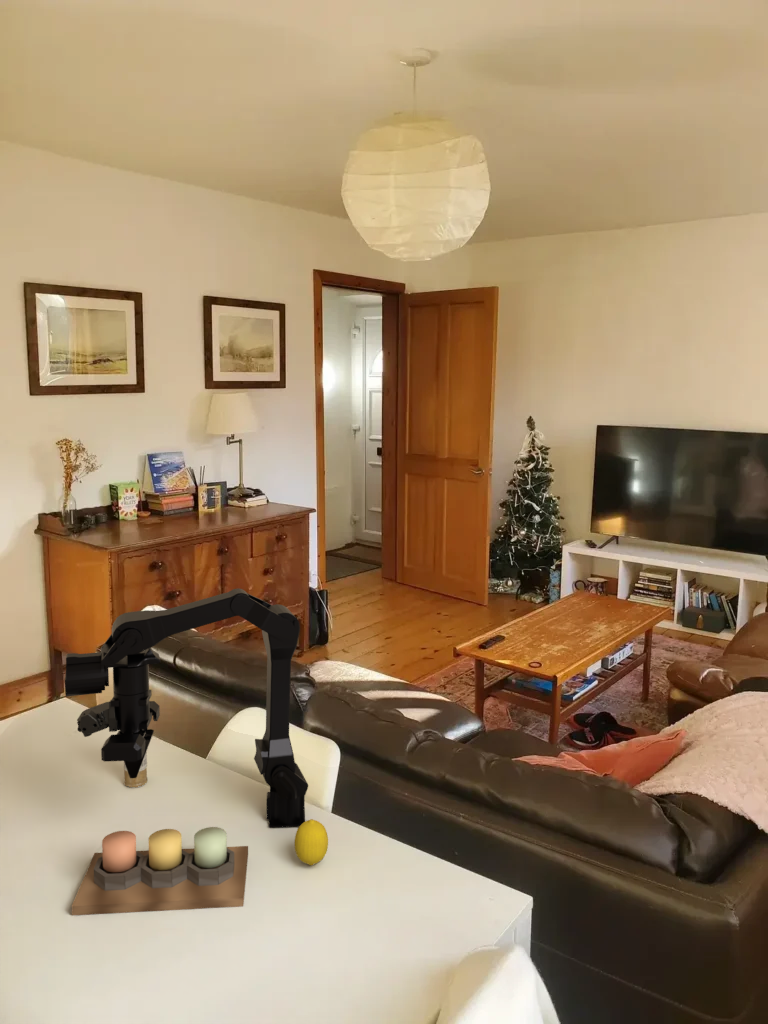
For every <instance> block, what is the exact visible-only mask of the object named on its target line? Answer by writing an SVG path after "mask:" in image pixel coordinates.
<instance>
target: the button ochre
mask: <svg viewBox="0 0 768 1024" xmlns="http://www.w3.org/2000/svg"><path fill="white" fill-rule="evenodd" d="M182 839H183V838H182V833H181V832H180V831H179V830H178V829H177V830H176V829H174V828H165V829H164V828H163V829H159V830H157V831H154V832H153V833H152V834H150V835H149V837H148V850H149V865H150V867H151V868H153V869H155V870H169V869H172V868H174V867H176V866H178V865H179V864H180V863H181V861H182V849H183V846H182V845H183V844H182Z"/></svg>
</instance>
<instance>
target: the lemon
mask: <svg viewBox="0 0 768 1024" xmlns="http://www.w3.org/2000/svg"><path fill="white" fill-rule="evenodd" d="M328 846H329V837H328V832H327V829H326V827H325V825H324V824H323V823H322V822H320V821H318V820H316V819H313V818H310V819H308V820H305V822H304V823H302V824H301V825H300V826H299V827H297V830H296V832H295V836H294V851H295V854H296V856H297V858H298V860H299V861H301V862H302V863H304V864H307V865H308V866H311V867H312V866H313V865H314V864H315V865H316V864H318V863H320V862H321V861H322V860H323V859H324V858H325V856H326V854H327V853H328Z"/></svg>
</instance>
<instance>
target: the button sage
mask: <svg viewBox="0 0 768 1024" xmlns="http://www.w3.org/2000/svg"><path fill="white" fill-rule="evenodd" d="M227 837H228V835H227V831H226V830H225V829H223V828H221V827H218V826H208V827H204V828H202V829H199V830H198V831H197V832H196V833H194V836H193V843H194V847H193V848H194V856H195V864H196V865H197V866H199V867H202V868H214V867H217V866H220V865H222V864H223V863H224V862H225V861H226V859H227V847H228V845H227V844H228V843H227V842H228V841H227Z"/></svg>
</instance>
